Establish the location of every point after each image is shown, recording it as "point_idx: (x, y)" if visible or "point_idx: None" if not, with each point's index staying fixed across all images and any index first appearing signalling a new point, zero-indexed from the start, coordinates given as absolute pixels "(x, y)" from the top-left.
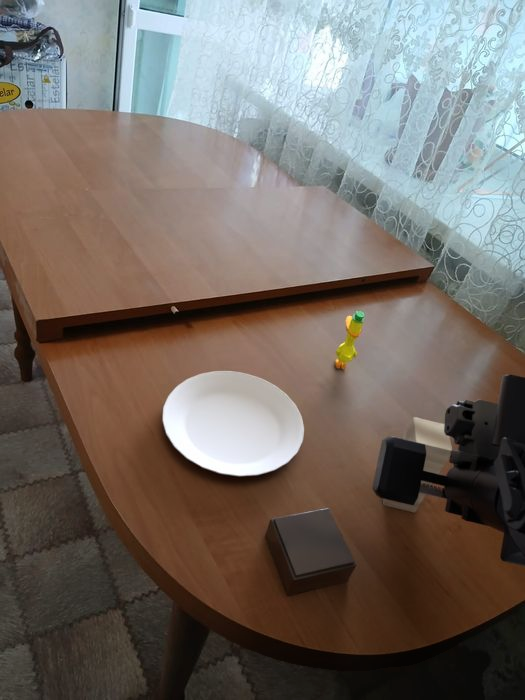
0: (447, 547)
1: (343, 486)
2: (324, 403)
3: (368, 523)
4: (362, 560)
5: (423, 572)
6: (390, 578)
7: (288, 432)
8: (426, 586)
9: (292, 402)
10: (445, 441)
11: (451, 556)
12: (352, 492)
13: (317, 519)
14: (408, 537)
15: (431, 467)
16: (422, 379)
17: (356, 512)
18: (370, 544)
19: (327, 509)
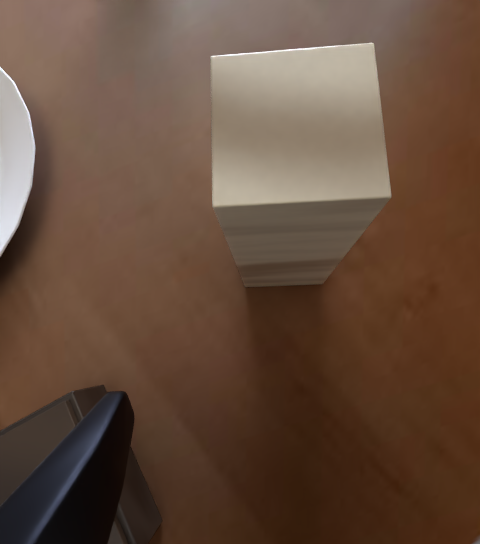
0: (401, 358)
1: (153, 264)
2: (108, 44)
3: (211, 348)
4: (196, 454)
5: (340, 446)
6: (261, 484)
7: (12, 165)
8: (347, 482)
9: (6, 78)
10: (358, 149)
11: (411, 381)
12: (173, 274)
13: (35, 446)
14: (305, 358)
15: (322, 240)
16: None
17: (183, 327)
18: (215, 405)
19: (61, 406)
